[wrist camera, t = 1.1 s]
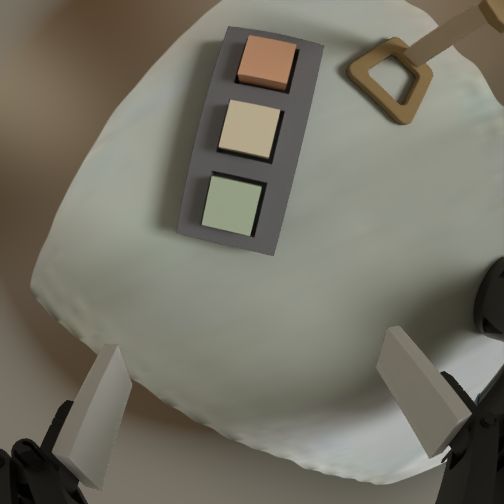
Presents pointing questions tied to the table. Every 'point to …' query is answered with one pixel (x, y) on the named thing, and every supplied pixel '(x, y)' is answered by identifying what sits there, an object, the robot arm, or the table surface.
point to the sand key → (249, 129)
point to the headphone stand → (422, 57)
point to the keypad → (242, 165)
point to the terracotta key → (266, 63)
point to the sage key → (231, 205)
